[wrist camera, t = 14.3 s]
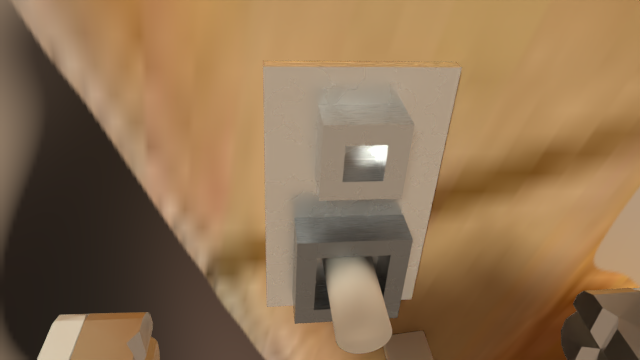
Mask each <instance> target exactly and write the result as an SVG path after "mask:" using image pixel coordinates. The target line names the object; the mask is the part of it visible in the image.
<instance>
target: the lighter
mask: <svg viewBox="0 0 640 360" xmlns="http://www.w3.org/2000/svg"><path fill="white" fill-rule="evenodd" d="M383 349H384V353H385V357H386V360H433V357H432V354H431V351H430V348H429V345H428V342H427V339H426V337H425V334H424V331H422V330H421V331H415V332H408V333H401V334H394V335H392V336H391V338H390V340H389V341H388V342H387V343H386V344H385V345H384V346H383Z"/></svg>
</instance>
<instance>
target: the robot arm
mask: <svg viewBox="0 0 640 360" xmlns="http://www.w3.org/2000/svg"><path fill="white" fill-rule="evenodd" d="M573 305H574V307H575V309H576V312H575V313H574V314H572V315H571V316H569V317H568V318H567V319H566V320H565V322H564V325H563V327H562V329H561V345H562V348H563V351H564V354H565V356H566V358H567V360H640V288H633V289H631V288H622V289H605V290H589V291H583V292H581V293H580V294H578V295H577V297H576V299H575V301H574V303H573ZM152 328H153V323H152V320H151V316H150V313H104V314H103V313H102V314H101V313H100V314H75V315H60V316H59V317H58V318H57V319H56V320H55V321H54V322H53V324H52V326H51V328H50V331H49V333H48V335H47V338H46V340H45V342H44V345H43V347H42V349H41V352H40V354H39V356H38V359H37V360H160V358H159V357H160V356H159V348H158V343H157V341H156V340H155V339H154V338H152V337H151V332H152Z"/></svg>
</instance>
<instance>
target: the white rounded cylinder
mask: <svg viewBox="0 0 640 360" xmlns="http://www.w3.org/2000/svg"><path fill="white" fill-rule="evenodd" d="M322 261H323V267H324V273H325V279H326V285H327V291H328V297H329V303H330V309H331V315H332V321H333V327H334V332H335V338H336V343H337V345H338V346H339V347H340V348H341V349H342V350H344V351H346V352H349V353H354V354H363V353H369V352H372V351H375V350H377V349H379V348H381V347H383V346H384V345H385V344H386V343H387V342H388V341H389V340H390V338H391V336H392V327H391V323H390V320H389V316H388V313H387V309H386V306H385V302H384V299H383V295H382V292H381V288H380V285H379V281H378V278H377V274H376V271H375V267H374V264H373V260H372V257H371V256H363V257H339V258H322Z"/></svg>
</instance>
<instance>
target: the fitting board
mask: <svg viewBox="0 0 640 360" xmlns="http://www.w3.org/2000/svg"><path fill="white" fill-rule="evenodd" d="M461 68H462V67H461V66H460V65H459V64H458V63H457V62H391V61H263V91H264V157H265V224H266V290H267V307H274V306H293V309H294V321H295V324H296V323H314V322H331V321H332V315H331V309H330V303H329V297H328V291H327V285H326V279H325V273H324V267H323V261H322V258H339V257H363V256H371V257H372V260H373V264H374V267H375V271H376V274H377V278H378V281H379V285H380V288H381V292H382V295H383V299H384V302H385V306H386V309H387V313H388V316H389V318H397V317H398V312H399V307H400V302H401V300H408V299H412V294H413V290H414V285H415V281H416V276H417V271H418V267H419V262H420V257H421V253H422V248H423V244H424V239H425V234H426V230H427V225H428V220H429V216H430V211H431V207H432V202H433V197H434V193H435V188H436V184H437V179H438V174H439V170H440V165H441V160H442V156H443V151H444V147H445V142H446V137H447V133H448V128H449V123H450V119H451V114H452V110H453V105H454V100H455V96H456V91H457V87H458V82H459V77H460V73H461Z"/></svg>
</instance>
